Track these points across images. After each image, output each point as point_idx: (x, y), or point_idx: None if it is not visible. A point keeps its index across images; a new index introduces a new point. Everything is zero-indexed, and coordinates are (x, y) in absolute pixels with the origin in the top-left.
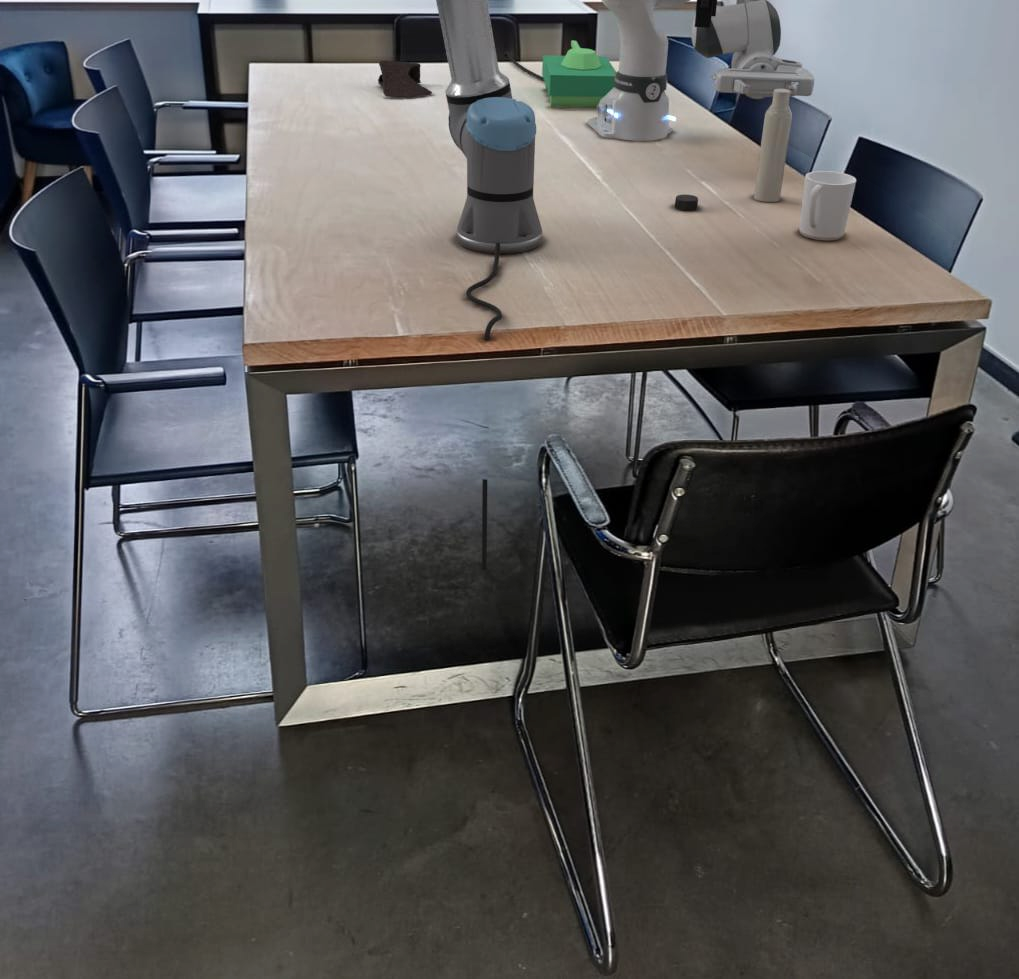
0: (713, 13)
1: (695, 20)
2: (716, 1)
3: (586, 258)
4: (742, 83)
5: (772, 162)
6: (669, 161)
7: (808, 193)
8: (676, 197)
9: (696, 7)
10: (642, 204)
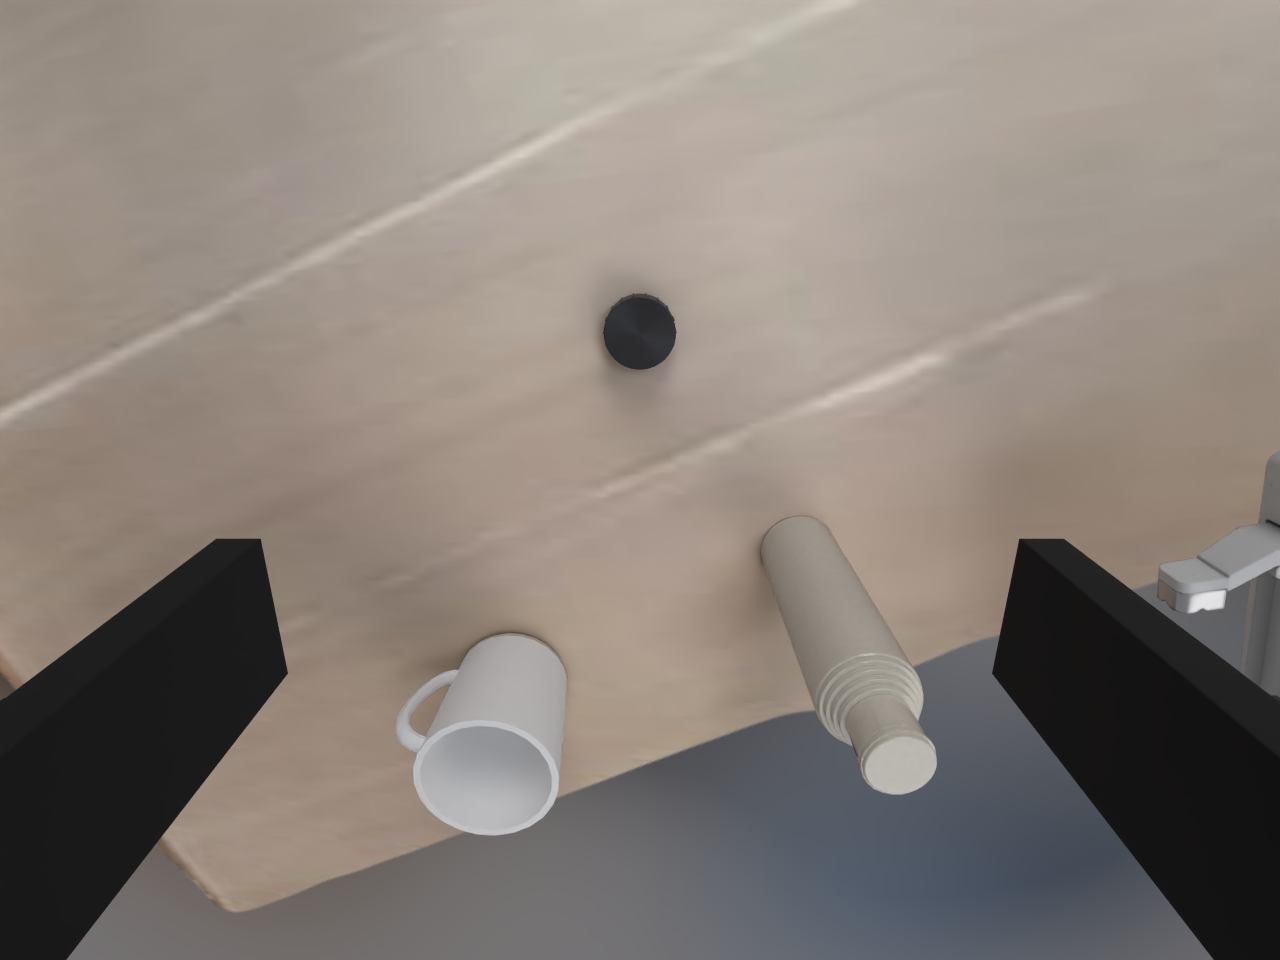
0: (1012, 670)
1: (176, 570)
2: (1071, 771)
3: (26, 74)
4: (1223, 581)
5: (782, 608)
6: (1204, 214)
7: (449, 706)
8: (630, 299)
9: (82, 642)
10: (635, 181)
